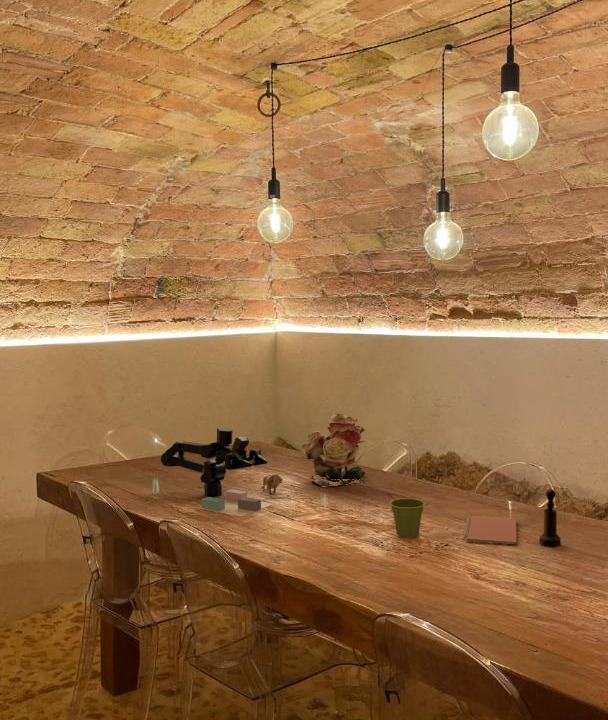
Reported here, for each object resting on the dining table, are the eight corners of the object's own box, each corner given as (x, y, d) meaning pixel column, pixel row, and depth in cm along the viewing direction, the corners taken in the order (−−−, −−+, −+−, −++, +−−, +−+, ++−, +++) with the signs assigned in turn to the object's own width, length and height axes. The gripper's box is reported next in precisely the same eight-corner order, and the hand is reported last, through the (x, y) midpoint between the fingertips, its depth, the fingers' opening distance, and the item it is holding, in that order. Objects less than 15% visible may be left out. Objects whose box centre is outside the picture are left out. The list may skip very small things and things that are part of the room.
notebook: (467, 520, 275) (467, 514, 275) (515, 523, 271) (515, 517, 271) (462, 543, 249) (462, 537, 249) (516, 547, 245) (516, 541, 245)
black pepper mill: (543, 539, 250) (543, 485, 249) (563, 543, 247) (563, 488, 245) (536, 545, 245) (537, 490, 244) (557, 548, 241) (557, 492, 240)
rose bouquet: (300, 475, 346) (299, 410, 344) (363, 473, 349) (363, 408, 347) (306, 489, 321) (306, 419, 318) (375, 486, 324) (374, 417, 322)
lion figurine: (284, 495, 311) (284, 474, 310) (273, 497, 308) (273, 475, 307) (266, 488, 323) (265, 467, 322) (255, 490, 320) (255, 469, 320)
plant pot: (393, 529, 264) (392, 497, 263) (427, 531, 260) (427, 499, 260) (386, 539, 253) (386, 506, 252) (422, 542, 249) (422, 508, 248)
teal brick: (201, 508, 292) (201, 499, 291) (208, 505, 295) (208, 496, 295) (217, 511, 287) (217, 501, 287) (224, 508, 290) (224, 499, 290)
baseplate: (200, 510, 291) (200, 499, 290) (233, 498, 307) (233, 488, 307) (241, 518, 280) (241, 507, 279) (273, 505, 296) (273, 495, 296)
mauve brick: (225, 499, 303) (225, 491, 303) (231, 497, 306) (231, 489, 306) (241, 502, 299) (241, 493, 298) (247, 500, 302) (247, 491, 302)
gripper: (215, 437, 297) (245, 445, 287) (246, 433, 312) (276, 441, 302) (212, 465, 298) (242, 474, 288) (244, 460, 313) (273, 468, 303)
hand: (259, 463), depth 296 cm, fingers open, 9 cm apart
